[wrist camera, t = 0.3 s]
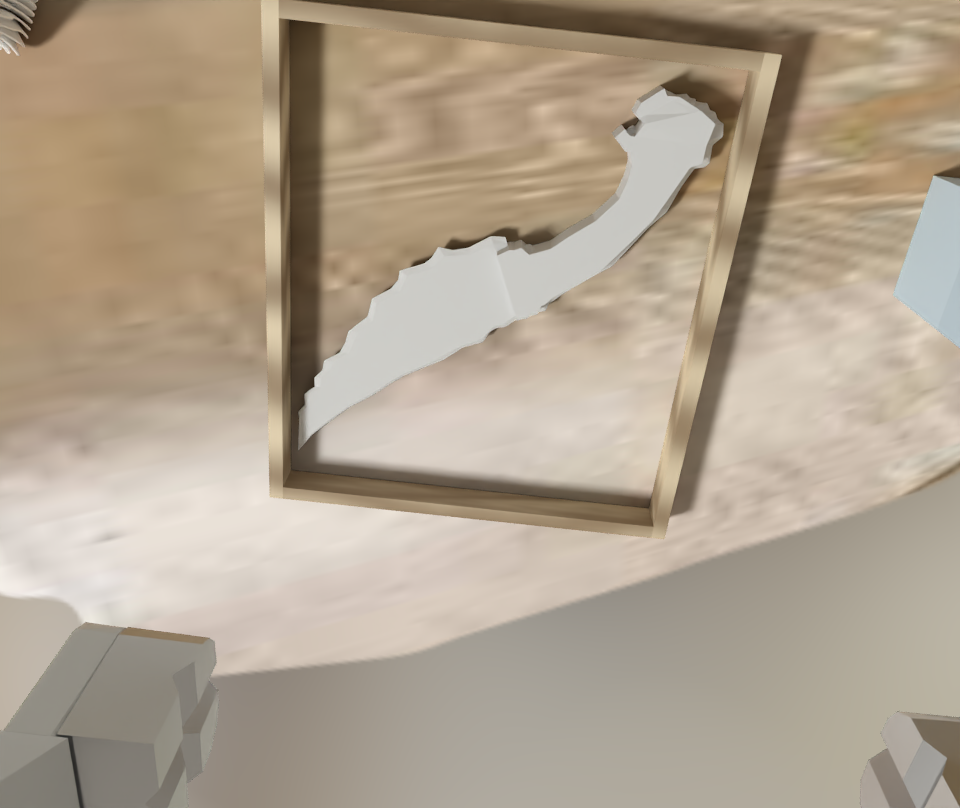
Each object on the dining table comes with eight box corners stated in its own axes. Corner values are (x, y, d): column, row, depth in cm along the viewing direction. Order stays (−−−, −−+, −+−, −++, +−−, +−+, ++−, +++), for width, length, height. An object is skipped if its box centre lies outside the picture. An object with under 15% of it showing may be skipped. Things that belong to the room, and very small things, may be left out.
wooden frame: (272, -3, 49) (261, -3, 47) (770, 52, 49) (782, 54, 47) (278, 479, 64) (269, 497, 62) (659, 520, 64) (664, 539, 62)
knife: (685, 63, 50) (693, 66, 48) (745, 168, 53) (755, 175, 51) (243, 380, 61) (233, 394, 59) (311, 454, 64) (303, 471, 61)
